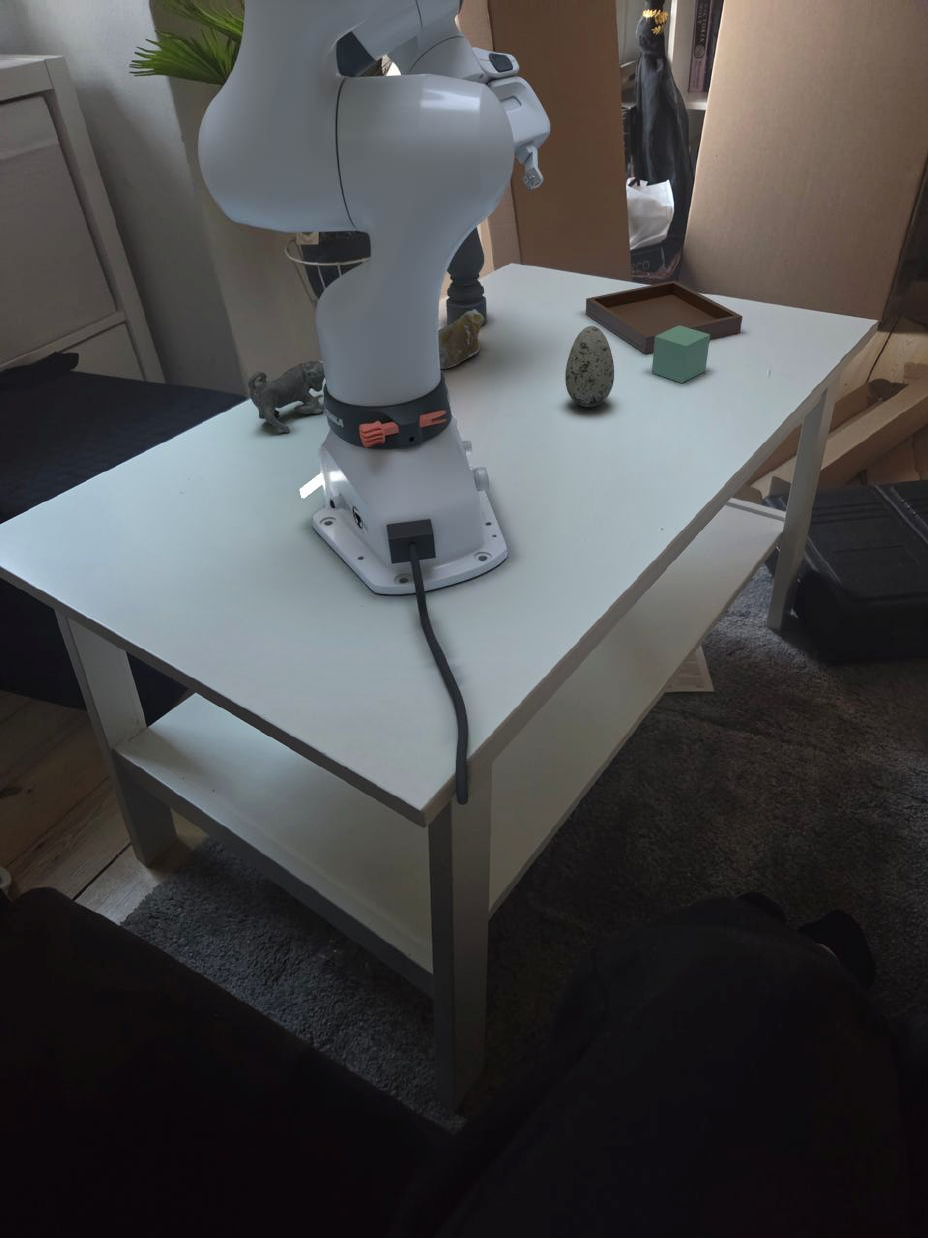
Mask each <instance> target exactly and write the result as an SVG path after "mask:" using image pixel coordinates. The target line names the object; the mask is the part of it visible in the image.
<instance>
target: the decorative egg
mask: <svg viewBox="0 0 928 1238" xmlns="http://www.w3.org/2000/svg"><path fill="white" fill-rule="evenodd" d="M613 357H614V356H613V353H612V349H611V346H610V343H609V341H608V338H607V337H606V335H605V333H603V331H602V330H601V329H600V328H599V327H597V326H595V325H588V326H586V327H584V328H583V329H582V330H581V331H580V332H579V333H578V334H577V337H576V338H575V340H574V342H573V343H572V346H571V348H570V352H569V354H568V358H567V362H566V365H565V375H564V380H565V381H564V382H565V387H566V391H567V393H568V395H569V397H570V398H571V400H572V401H573V402H574V403H575V404H576V405H579V406H581V407H584V408H593V407H597V406H598V405H600V404H602V403H603V402H604V401H605V400H606V399H607V398H608V397H609V395H610V394H611V392H612V390H613V386H614V381H615V362H614V358H613Z"/></svg>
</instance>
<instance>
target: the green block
mask: <svg viewBox="0 0 928 1238" xmlns="http://www.w3.org/2000/svg"><path fill="white" fill-rule="evenodd" d="M710 340H711V339H710V334H707V333H703V332H700V331H697V330H693V329H690V328H686V327H683V326H680V325H678V326H676V327H674V328H672V329H670V330H668V331H666V332H663V333H661V334H659V335H657V336H655V342H654V352H653V354H652V355H653V356H652V366H651V373H652V374H654V375H657V376H660V377H663V378H665V379H668V380H672V381H674V382H676V383H680V384H684V383H686V382H687V381H689V380H692V379H693V378H695V377H697V376H699V375H701V374H703V373H705V372H706V370H707V362H708V355H709V354H708V353H709V347H710Z"/></svg>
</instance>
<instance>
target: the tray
mask: <svg viewBox="0 0 928 1238" xmlns="http://www.w3.org/2000/svg"><path fill="white" fill-rule="evenodd" d="M585 315H586V316H588V317H589V318H591V319H592V320H594V321H595V322H597V323H598V324H600V326H603V327H604V328H606V329H607V330H609V331H610V332H611V333H613V334H614V335H616V336H617V337H618V338H620V339H622V340H623V341H624V342H626V343H628V344H629V345H631V346H632V347H633V348H635V349H637V350H638V351H640V352H641V353H642V354H644V355H648V354H652V353H654V342H655V336H657V335H659V334H661V333H663V332H666V331H668V330H670V329H672V328H674V327H676V326H678V325H680V326H683V327H686V328H690V329H693V330H697V331H700V332H703V333H707V334H710V340H713V339H718V338H723V337H727V336H732V335H736V334H740V333H741V330H742V329H741V328H742V324H743V315H741V314H739V313H737V312H735V311H734V310H731V309H729V308H728V307H726V306H724V305H722V304H721V303H718V302H716V301H715V300H712V299H711V298H708V297H707V296H705V295H703V294H701V293H699V292H698V291H695V289H692V288H689V287H688V286H686V285H684V284H682V283H680V282H678V281H676V280H670V281H666V282H661V283H655V284H651V285H646V286H641V287H635V288H631V289H627V290H621V291H616V292H611V293H606V294H601V295H597V296H592V297H587V298H585Z"/></svg>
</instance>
